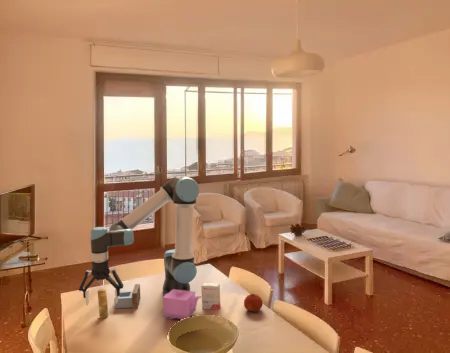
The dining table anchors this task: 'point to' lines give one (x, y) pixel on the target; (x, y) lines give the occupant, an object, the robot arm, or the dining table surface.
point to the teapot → (179, 304)
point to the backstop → (136, 296)
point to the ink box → (210, 295)
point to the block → (124, 299)
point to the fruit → (253, 302)
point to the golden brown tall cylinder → (102, 303)
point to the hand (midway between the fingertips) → (102, 303)
